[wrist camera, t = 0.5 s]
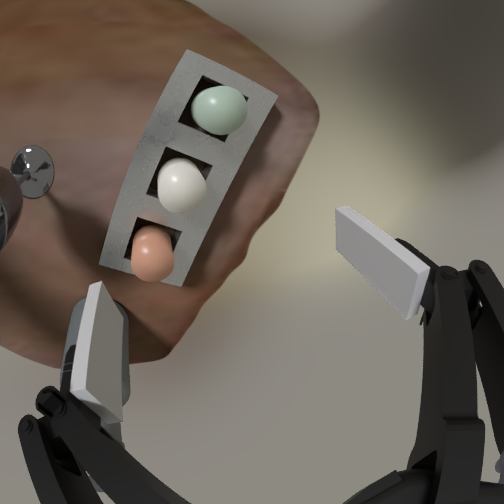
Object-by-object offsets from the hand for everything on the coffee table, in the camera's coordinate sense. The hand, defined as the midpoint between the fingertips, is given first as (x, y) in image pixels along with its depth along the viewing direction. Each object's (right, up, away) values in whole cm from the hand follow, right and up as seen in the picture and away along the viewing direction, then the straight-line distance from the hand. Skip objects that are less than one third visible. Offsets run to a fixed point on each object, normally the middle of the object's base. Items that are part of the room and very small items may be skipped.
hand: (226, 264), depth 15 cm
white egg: (-7, +9, +17) cm, 21 cm away
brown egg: (-11, +2, +20) cm, 23 cm away
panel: (-8, +10, +19) cm, 23 cm away
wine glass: (-27, +11, +12) cm, 31 cm away
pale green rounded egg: (-3, +17, +14) cm, 22 cm away
